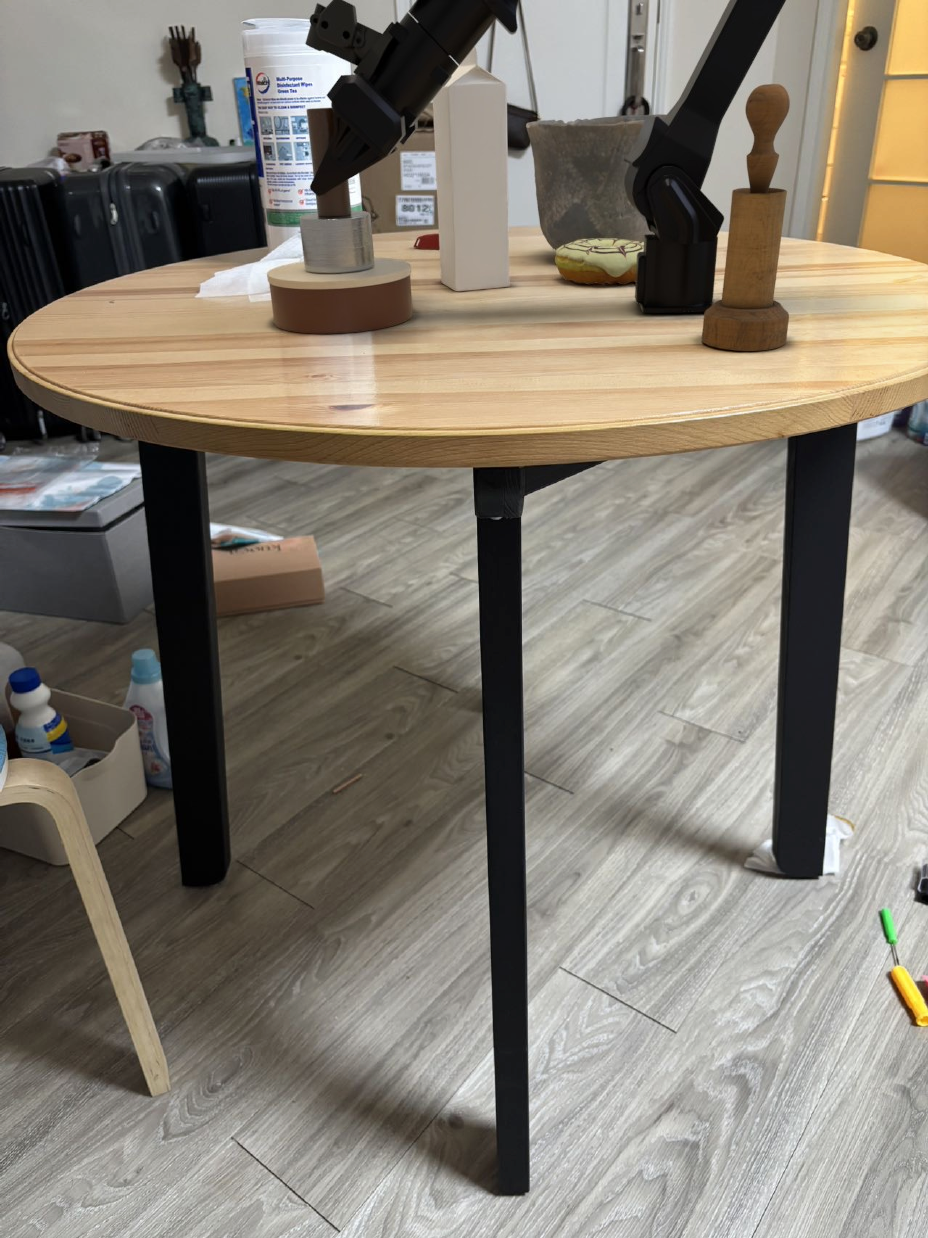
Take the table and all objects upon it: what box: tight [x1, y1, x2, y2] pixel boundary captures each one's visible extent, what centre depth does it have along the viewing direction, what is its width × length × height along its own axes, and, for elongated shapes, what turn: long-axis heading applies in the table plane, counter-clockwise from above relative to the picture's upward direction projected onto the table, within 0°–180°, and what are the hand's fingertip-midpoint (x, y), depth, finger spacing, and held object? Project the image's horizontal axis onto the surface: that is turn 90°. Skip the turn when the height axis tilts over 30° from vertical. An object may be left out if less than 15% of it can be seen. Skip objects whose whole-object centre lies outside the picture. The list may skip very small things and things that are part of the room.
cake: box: [266, 256, 414, 335], centre depth 90 cm, size 13×13×4 cm
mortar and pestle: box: [701, 83, 791, 352], centre depth 73 cm, size 7×6×18 cm
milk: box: [432, 46, 510, 293], centre depth 99 cm, size 6×6×22 cm
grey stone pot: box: [525, 113, 667, 251], centre depth 114 cm, size 18×18×15 cm
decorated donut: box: [554, 238, 644, 286], centre depth 103 cm, size 10×11×4 cm
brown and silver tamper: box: [298, 107, 375, 273], centre depth 86 cm, size 6×6×13 cm
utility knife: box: [413, 233, 440, 250], centre depth 127 cm, size 12×1×2 cm, turn 69°
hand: (317, 190), depth 86 cm, fingers closed on brown and silver tamper, 3 cm apart
